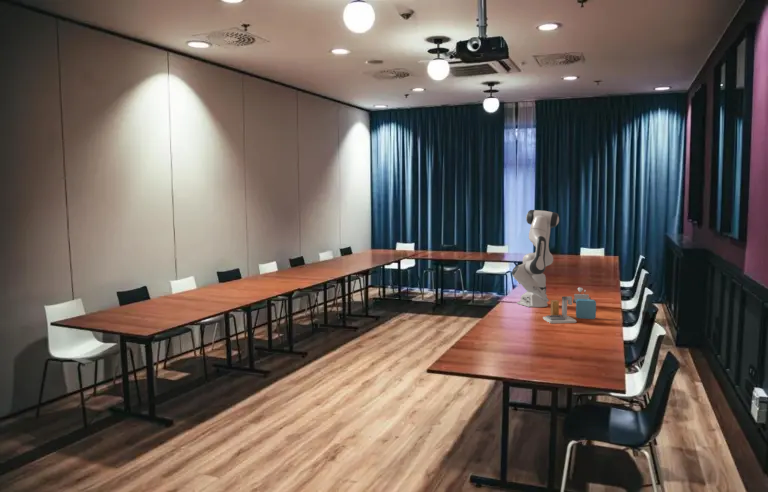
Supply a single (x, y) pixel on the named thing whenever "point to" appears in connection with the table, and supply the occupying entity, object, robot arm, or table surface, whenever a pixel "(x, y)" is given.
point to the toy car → (580, 295)
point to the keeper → (564, 317)
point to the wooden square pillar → (554, 307)
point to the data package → (585, 309)
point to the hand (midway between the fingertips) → (545, 299)
